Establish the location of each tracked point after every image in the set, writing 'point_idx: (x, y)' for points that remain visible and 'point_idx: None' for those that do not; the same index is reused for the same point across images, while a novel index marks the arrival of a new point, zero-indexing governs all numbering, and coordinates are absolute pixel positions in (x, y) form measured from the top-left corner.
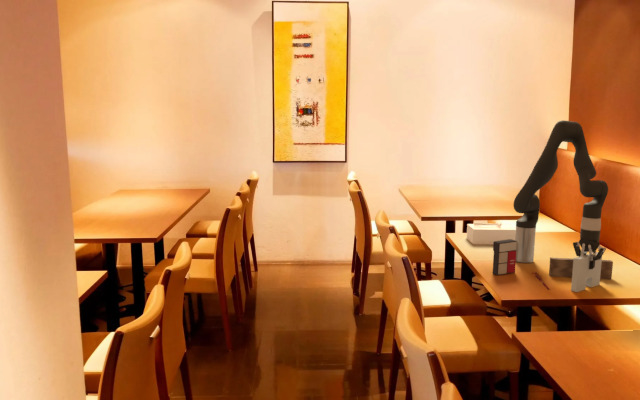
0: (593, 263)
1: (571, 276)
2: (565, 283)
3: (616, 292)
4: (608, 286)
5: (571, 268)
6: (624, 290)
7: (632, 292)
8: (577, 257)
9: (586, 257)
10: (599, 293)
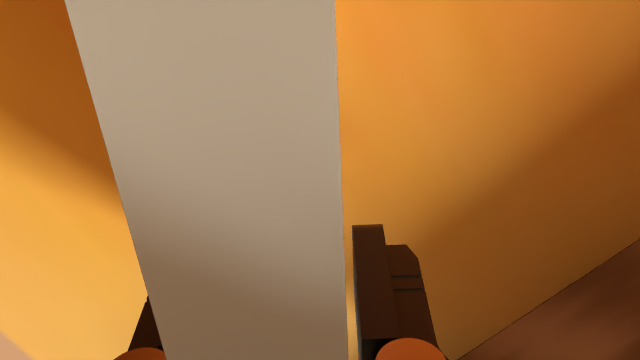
0: (141, 329)
1: (581, 285)
2: (531, 55)
3: (47, 219)
4: None
5: (624, 347)
6: (70, 314)
7: (2, 318)
8: (298, 77)
9: (154, 314)
10: None
